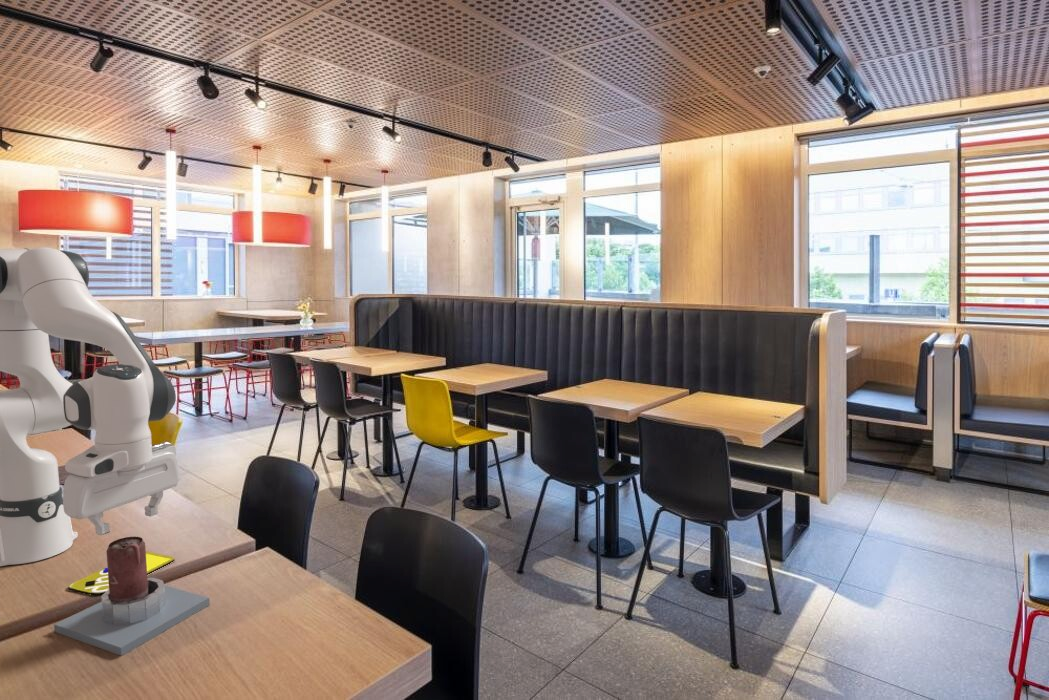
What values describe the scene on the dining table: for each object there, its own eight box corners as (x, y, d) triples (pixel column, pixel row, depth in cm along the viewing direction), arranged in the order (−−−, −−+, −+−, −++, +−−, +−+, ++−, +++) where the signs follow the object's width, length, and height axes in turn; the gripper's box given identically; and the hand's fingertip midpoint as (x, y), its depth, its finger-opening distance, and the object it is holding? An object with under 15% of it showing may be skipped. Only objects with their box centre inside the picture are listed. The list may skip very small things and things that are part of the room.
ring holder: (90, 618, 115) (89, 597, 115) (141, 592, 124) (140, 574, 124) (127, 630, 112) (126, 609, 111) (176, 603, 121) (175, 584, 120)
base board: (54, 631, 113) (54, 624, 113) (146, 586, 130) (146, 579, 130) (121, 655, 107) (121, 647, 106) (209, 604, 123) (209, 597, 123)
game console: (141, 554, 145) (140, 548, 145) (178, 561, 142) (178, 555, 142) (64, 592, 128) (64, 585, 128) (105, 601, 125) (104, 594, 125)
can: (132, 623, 114) (127, 550, 112) (103, 618, 115) (98, 547, 113) (157, 605, 120) (153, 537, 118) (130, 601, 121) (125, 533, 119)
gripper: (163, 437, 125) (166, 502, 127) (54, 465, 106) (60, 542, 108) (186, 441, 123) (188, 507, 124) (78, 471, 104) (84, 549, 106)
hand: (128, 524), depth 116 cm, fingers open, 8 cm apart
